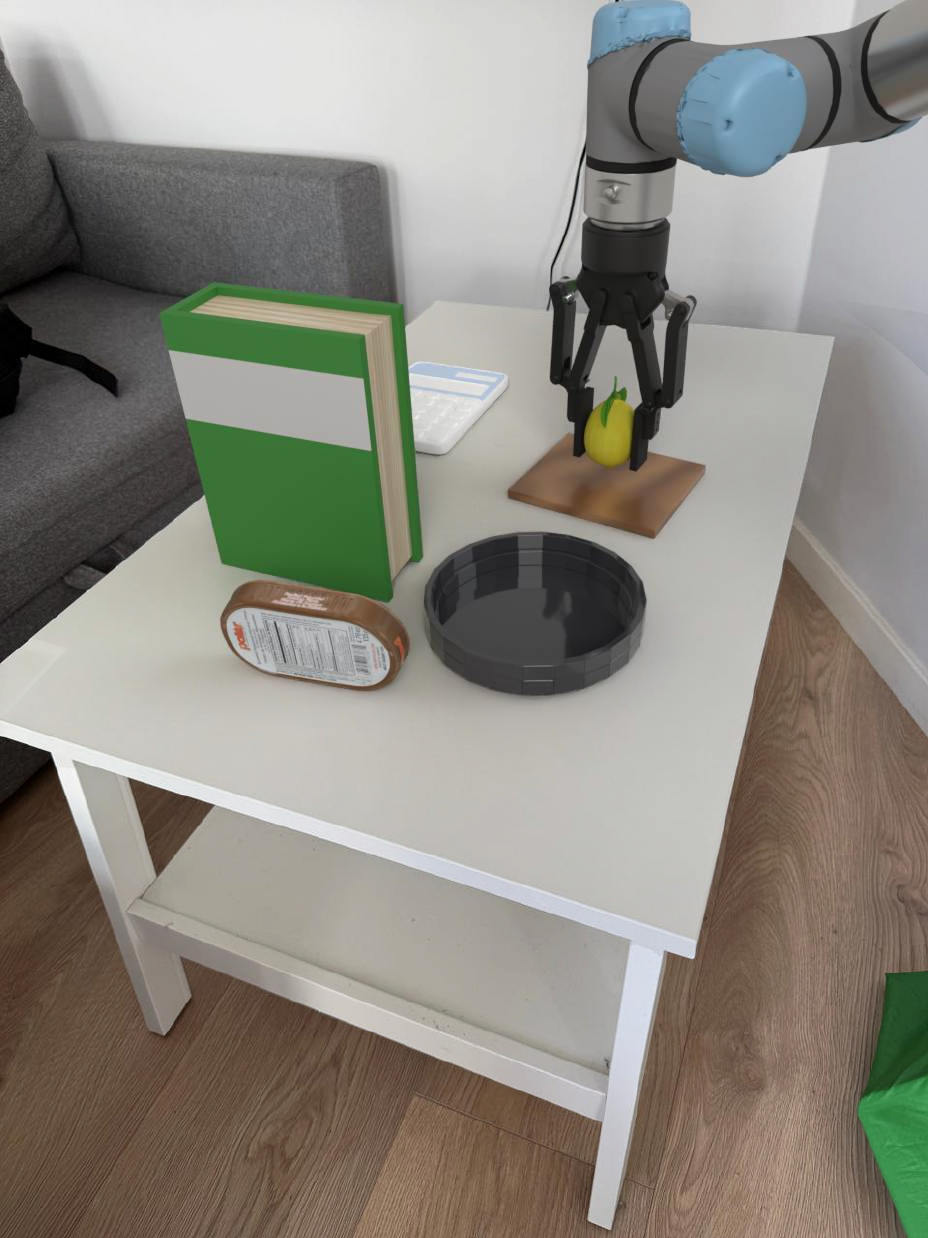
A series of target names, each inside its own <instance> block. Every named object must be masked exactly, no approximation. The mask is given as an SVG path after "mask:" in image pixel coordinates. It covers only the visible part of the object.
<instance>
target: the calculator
mask: <svg viewBox="0 0 928 1238" xmlns="http://www.w3.org/2000/svg"><path fill="white" fill-rule="evenodd" d="M408 369H409V382H410V395H411V407H412V420H413V432H414V445H415V452H419V453H425V454H429V455H430V454H431V455H435V456H437V455H438V456H440V455H445V454H447V453H448V452H450V451H451V450H452V448H453V447H455V445H456V444H457V443H458V442H459V441H460V440H461V439H463V437H464V436H465V435H466V433H468V431H469V430H470V429H471V428H472V427H473V426H474V425H475V424H476V423H477V422H478V420H479V419H480V418H481V417H482V416H483V415H484V414H485V413H486V412H487V411H488V409H489V408H490V407H491V406H492V405H493V404H494V403H495V402H496V401H497V400H498V399H499V398H500V397H501V396H502V394H503V393H504V392H505V391H506V389H507V388H508V385H509V376H508V375H507V374H505V373H503V372H499V371H492V370H486V369H479V368H471V367H465V366H459V365H452V364H444V363H438V362H433V361H432V362H431V361H416V362H413V363H412V364H411V365H408Z"/></svg>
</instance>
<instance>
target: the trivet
mask: <svg viewBox="0 0 928 1238" xmlns="http://www.w3.org/2000/svg"><path fill="white" fill-rule="evenodd" d="M573 445H574V433H571V432H568V433H567V434H565V435H564V436H563V437H562V438H561V439H560V440H559V441H558V442H556V444H555V445H554V446H553V447H551V449H549V450H548V451H547V452H546V453H545V454H544V455H543V456H542V457H541V458H540V459H539V460H537V461H536V463H535V464H533V465H532V467H530V468H529V469H528V470H527V471H526V472H524V474H523V475H522V476H521V477H520V478H519V479H517V480H516V481H515V483H514V484H512V485H511V486H510V487H509V488H508V489H507V498H508V499H510V500H514V501H518V502H522V503H526V504H529V505H532V506H537V507H540V508H542V509H544V508H545V509H547V510H551V511H554V512H558V513H561V514H564V515H569V516H572V517H576V518H580V519H582V520H586V521H590V522H594V523H598V524H600V525H604V526H608V527H612V528H615V529H619V530H622V531H626V532H629V533H633V534H636V535H640V536H644V537H648V538H651V539H655V538H656V537H657V536H658V535H659V533H660V532H661V530H663V528H664V527H665V526H666V524H668V521H669V520H670V519H671V518H672V516H673V515H674V514H675V512H676V511H677V510H678V509H679V508H680V506H681V504H683V502H684V501H685V500H686V498H687V497H688V496H689V494H690V493H691V492H692V490H694V488H695V487H696V485H698V483H699V482H700V481H701V479H702V478H703V476H704V475H705V474H706V468H707V465H706V464H703V463H698V462H694V461H690V460H686V459H682V458H681V459H680V458H677V457H673V456H668V455H664V454H660V453H657V452H656V453H655V452H652V451H648V453H647V460H646V461H645V462H644V464H643V465H642V466H641V467H640V468H639V469H638V470H637V471H632V470H629V467H630V459H629V460H628V461H626V462H625V463H623V464H620V465H618V466H615V467H614V468H612V469H609V468H606V467H605V466H602V465H599V464H597V463H595V462H594V461H592V460H591V459H590V458H589V457H588V455H587V452H585V453H584V454H583V455H582V456H581V457H580V458H579V457H575V456H573Z"/></svg>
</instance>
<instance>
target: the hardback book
mask: <svg viewBox="0 0 928 1238" xmlns="http://www.w3.org/2000/svg"><path fill="white" fill-rule="evenodd" d="M159 318H160V322H161V325H162V329H163V334H164V339H165V342H166V346H167V349H168V354H169V357H170V358H169V359H170V361H171V367H172V370H173V373H174V378H175V383H176V386H177V390H178V394H179V397H180V402H181V406H182V410H183V414H184V417H185V422H186V426H187V431H188V433H189V434H188V435H189V438H190V442H191V446H192V450H193V454H194V458H195V462H196V467H197V470H198V474H199V479H200V483H201V486H202V491H203V494H204V498H205V502H206V506H207V510H208V514H209V519H210V522H211V526H212V530H213V535H214V538H215V542H216V546H217V550H218V551H217V552H218V556H219V558H220V563H221V565H226V566H230V567H235V568H239V569H243V570H247V571H252V572H256V573H260V574H265V575H269V576H273V577H278V578H282V579H286V580H290V581H295V582H299V583H303V584H307V585H312V586H316V587H319V588H323V589H327V590H333V591H340V592H347V593H353V594H358V595H362V596H365V597H368V598H371V599H373V600H375V601H380V602H385V603H390V602H391V600H392V599H393V598H394V592H393V583H392V582H393V580H395V578H396V577H397V575H398V574H399V573H400V572H401V570H402V569H403V568H404V567H405V565H407V563H408V562H409V561H411V562H413V563H414V562H415V563H421V561H422V560H423V559H424V547H423V536H422V522H421V521H422V520H421V510H420V509H421V507H420V498H419V485H418V472H417V471H418V470H417V458H416V451H415V445H414V432H413V420H412V407H411V395H410V382H409V369H408V367H409V359H408V344H407V334H406V319H405V308H404V303H398V302H388V301H380V300H373V299H364V298H363V299H362V298H354V297H347V296H338V295H337V296H336V295H330V294H329V295H328V294H321V293H312V292H303V291H294V290H285V289H277V288H275V289H274V288H269V287H259V286H251V285H241V284H233V283H224V282H215V281H214V282H212V283H210V284H209V285H206V286H205V287H203V288H201V289H199V290H198V291H196V292H194V293H192V294H191V295H188V296H187V297H185V298H184V299H181V300H180V301H178V302H177V303H174V304H173V305H171V306H169V307H167V308H166V309H164V310H162V311H161V312H159Z"/></svg>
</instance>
